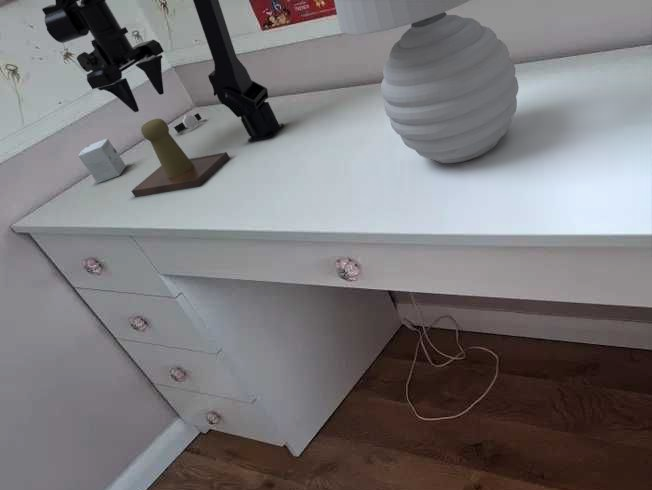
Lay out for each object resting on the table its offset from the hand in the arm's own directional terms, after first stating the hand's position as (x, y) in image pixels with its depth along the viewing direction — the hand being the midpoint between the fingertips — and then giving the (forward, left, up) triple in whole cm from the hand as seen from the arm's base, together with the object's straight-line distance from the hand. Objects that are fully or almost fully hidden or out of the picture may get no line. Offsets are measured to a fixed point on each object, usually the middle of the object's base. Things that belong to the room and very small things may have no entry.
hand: (149, 102), depth 143 cm
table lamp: (-77, +20, -13) cm, 81 cm away
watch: (+11, -19, -13) cm, 26 cm away
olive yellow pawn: (-9, +12, -12) cm, 19 cm away
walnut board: (-9, +12, -13) cm, 20 cm away
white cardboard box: (+20, +3, -13) cm, 24 cm away
